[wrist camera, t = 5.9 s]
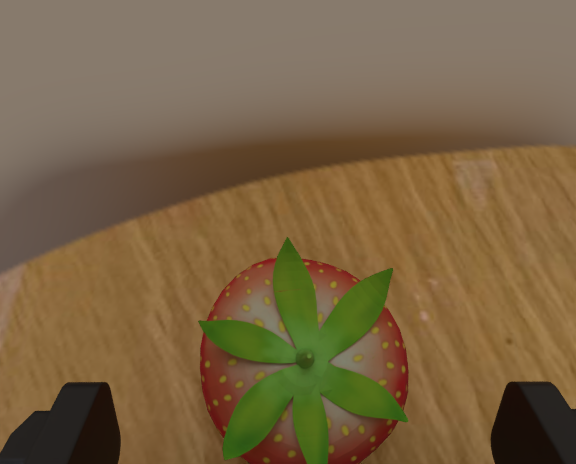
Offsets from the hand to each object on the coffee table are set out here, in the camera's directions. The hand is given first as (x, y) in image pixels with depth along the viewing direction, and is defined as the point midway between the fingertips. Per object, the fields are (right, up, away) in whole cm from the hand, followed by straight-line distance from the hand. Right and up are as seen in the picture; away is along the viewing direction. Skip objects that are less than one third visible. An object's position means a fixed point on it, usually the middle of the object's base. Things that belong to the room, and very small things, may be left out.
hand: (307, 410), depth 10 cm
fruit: (0, -1, +7) cm, 7 cm away
